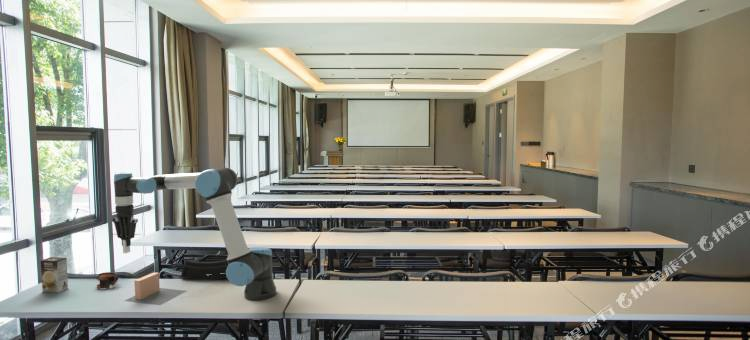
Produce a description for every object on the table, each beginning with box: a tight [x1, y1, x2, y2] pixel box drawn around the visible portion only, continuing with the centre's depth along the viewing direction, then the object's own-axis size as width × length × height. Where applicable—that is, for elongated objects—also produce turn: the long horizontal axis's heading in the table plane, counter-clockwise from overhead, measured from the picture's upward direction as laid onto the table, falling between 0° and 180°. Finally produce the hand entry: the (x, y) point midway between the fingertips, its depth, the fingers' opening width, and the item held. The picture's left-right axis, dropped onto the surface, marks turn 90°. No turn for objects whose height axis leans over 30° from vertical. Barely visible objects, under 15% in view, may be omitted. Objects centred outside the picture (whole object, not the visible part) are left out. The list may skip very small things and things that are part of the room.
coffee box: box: [40, 256, 69, 294], centre depth 210 cm, size 9×6×16 cm
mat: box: [124, 287, 187, 306], centre depth 202 cm, size 20×18×1 cm
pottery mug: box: [96, 271, 119, 290], centre depth 217 cm, size 12×10×8 cm
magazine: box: [180, 259, 228, 281], centre depth 227 cm, size 17×3×30 cm
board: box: [133, 272, 161, 300], centre depth 203 cm, size 3×12×9 cm, turn 166°
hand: (126, 252), depth 204 cm, fingers closed
